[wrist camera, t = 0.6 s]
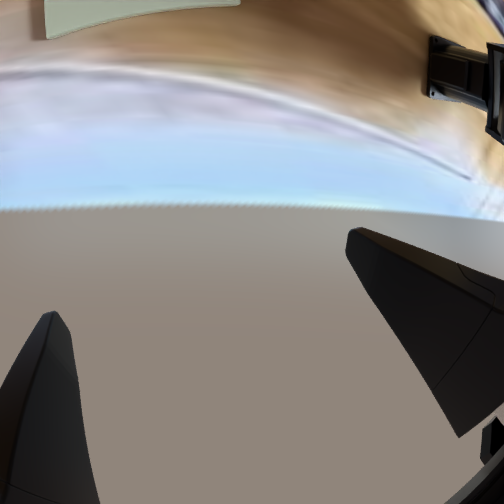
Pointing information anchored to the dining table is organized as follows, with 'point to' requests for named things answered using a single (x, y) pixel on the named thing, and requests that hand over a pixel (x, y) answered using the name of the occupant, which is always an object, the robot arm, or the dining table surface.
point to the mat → (110, 11)
